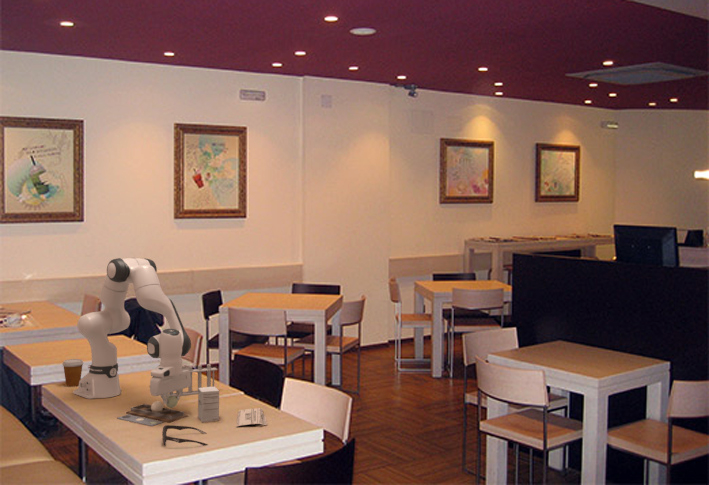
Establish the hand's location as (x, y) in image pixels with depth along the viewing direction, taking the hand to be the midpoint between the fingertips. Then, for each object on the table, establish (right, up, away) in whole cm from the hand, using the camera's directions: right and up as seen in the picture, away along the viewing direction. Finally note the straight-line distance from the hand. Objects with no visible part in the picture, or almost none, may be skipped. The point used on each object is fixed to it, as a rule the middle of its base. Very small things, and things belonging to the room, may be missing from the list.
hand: (171, 402), depth 291 cm
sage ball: (0, 0, 0) cm, 0 cm away
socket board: (-7, -6, +4) cm, 10 cm away
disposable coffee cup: (-62, -4, +53) cm, 82 cm away
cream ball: (-7, -3, +4) cm, 9 cm away
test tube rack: (-1, -5, +40) cm, 40 cm away
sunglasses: (+12, -9, -28) cm, 32 cm away
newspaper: (+33, -8, +1) cm, 34 cm away
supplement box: (+16, -7, -1) cm, 17 cm away
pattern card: (-12, -7, -4) cm, 14 cm away
